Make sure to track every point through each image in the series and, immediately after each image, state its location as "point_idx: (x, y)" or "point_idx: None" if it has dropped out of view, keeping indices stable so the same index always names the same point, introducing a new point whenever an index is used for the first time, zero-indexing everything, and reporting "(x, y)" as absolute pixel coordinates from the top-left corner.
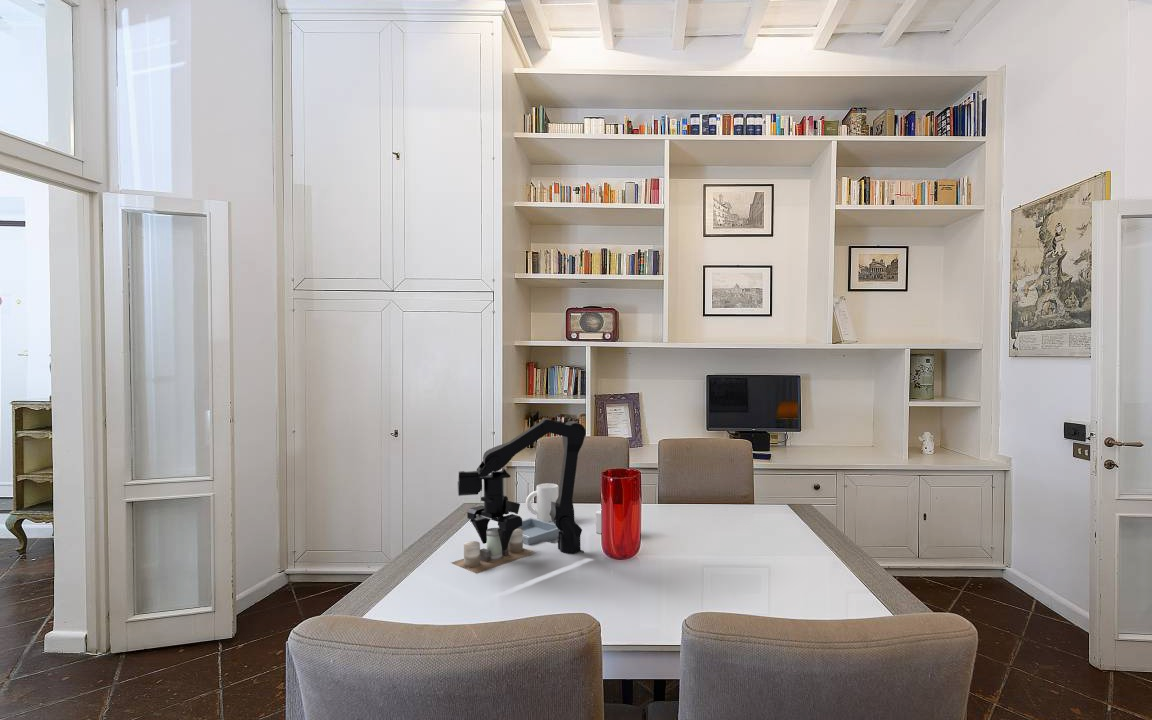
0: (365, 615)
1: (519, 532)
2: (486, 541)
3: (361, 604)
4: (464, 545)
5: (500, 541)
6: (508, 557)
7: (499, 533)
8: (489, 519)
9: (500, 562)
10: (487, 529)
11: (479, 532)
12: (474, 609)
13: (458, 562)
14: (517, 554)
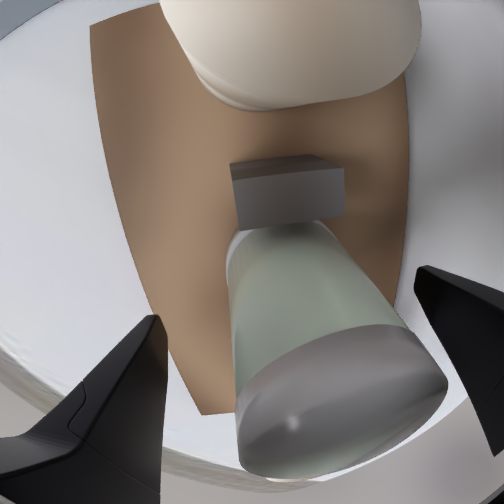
0: (324, 480)
1: (418, 12)
2: (155, 320)
3: (285, 486)
4: (300, 479)
5: (451, 359)
6: (349, 185)
7: (490, 419)
8: (26, 484)
9: (374, 269)
10: (263, 475)
11: (160, 447)
12: (457, 391)
13: (218, 401)
14: (346, 100)
